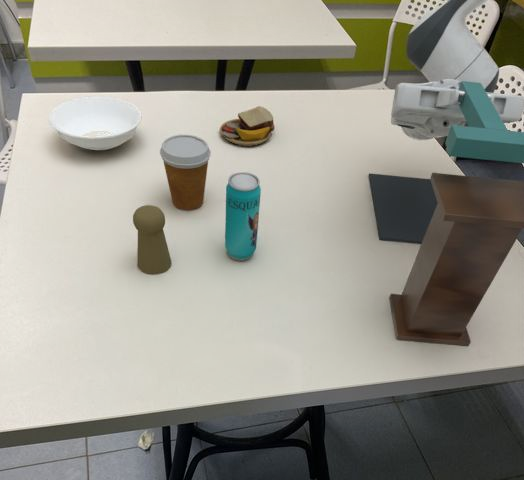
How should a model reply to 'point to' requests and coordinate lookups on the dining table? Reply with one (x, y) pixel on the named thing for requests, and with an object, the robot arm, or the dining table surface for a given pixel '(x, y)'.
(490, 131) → the letter T
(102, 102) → the bowl
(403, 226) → the mat
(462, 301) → the stand
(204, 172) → the disposable coffee cup
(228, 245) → the beverage can
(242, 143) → the toy sandwich meal
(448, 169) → the dining table surface
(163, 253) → the olive pawn
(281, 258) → the dining table surface
